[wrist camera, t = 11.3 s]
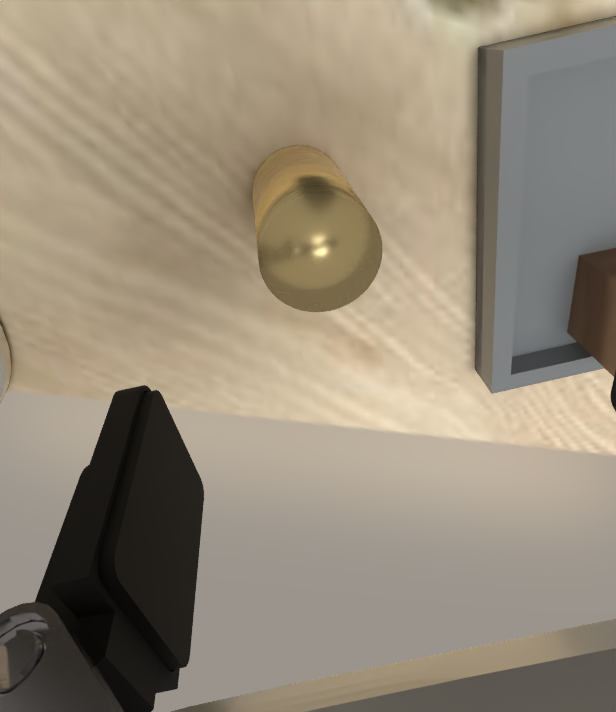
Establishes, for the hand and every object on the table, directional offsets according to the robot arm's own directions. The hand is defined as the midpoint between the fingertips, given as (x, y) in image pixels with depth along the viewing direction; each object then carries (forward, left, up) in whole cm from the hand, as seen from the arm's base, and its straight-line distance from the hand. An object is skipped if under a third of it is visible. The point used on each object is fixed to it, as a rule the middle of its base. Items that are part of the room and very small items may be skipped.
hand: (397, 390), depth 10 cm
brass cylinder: (-1, 0, -14) cm, 14 cm away
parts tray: (+14, -4, -14) cm, 21 cm away
